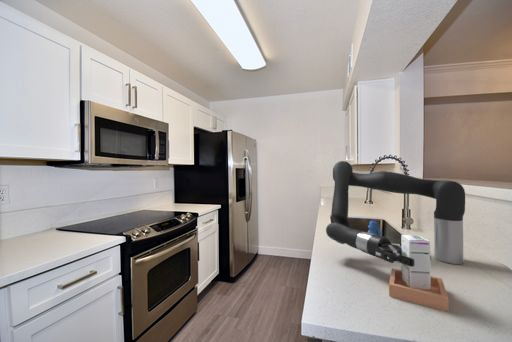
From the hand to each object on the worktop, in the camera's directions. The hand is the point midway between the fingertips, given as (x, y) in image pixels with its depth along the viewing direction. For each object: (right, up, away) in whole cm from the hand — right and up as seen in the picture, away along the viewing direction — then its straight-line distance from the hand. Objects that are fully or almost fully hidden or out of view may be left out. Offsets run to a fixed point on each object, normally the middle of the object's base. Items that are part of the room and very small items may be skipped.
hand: (422, 260), depth 66 cm
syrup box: (-1, -8, +2) cm, 8 cm away
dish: (-1, -10, +2) cm, 10 cm away
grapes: (+12, -11, +49) cm, 52 cm away
